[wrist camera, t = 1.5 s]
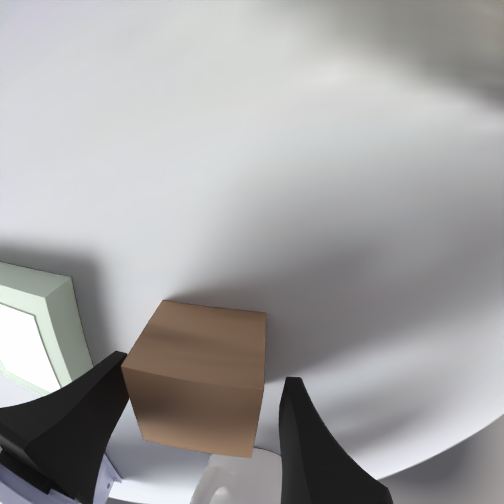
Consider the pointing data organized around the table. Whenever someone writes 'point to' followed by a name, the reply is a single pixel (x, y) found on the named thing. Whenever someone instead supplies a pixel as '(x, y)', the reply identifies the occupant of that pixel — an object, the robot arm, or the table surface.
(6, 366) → the base plate
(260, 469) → the mug
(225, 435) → the walnut cube
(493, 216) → the table surface
